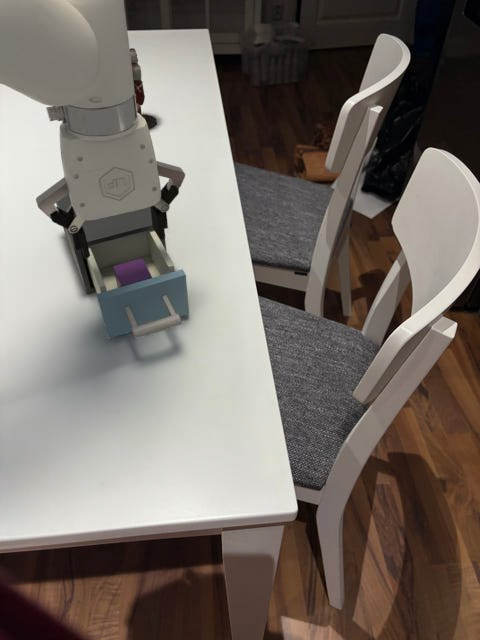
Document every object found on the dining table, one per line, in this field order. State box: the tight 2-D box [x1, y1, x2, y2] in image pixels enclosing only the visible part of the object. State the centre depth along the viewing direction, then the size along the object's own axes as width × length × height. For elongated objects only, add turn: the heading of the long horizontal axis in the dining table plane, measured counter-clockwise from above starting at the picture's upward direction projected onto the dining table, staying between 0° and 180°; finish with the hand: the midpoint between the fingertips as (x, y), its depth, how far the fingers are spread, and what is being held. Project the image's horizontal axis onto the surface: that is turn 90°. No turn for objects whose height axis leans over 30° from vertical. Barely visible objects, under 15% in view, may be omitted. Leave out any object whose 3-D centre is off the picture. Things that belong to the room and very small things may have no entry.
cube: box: [113, 258, 152, 288], centre depth 72 cm, size 4×4×4 cm
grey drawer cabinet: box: [55, 194, 168, 294], centre depth 80 cm, size 15×13×9 cm
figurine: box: [130, 47, 158, 130], centre depth 106 cm, size 7×7×15 cm
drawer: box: [86, 229, 190, 340], centre depth 71 cm, size 19×11×7 cm, turn 24°
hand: (122, 242), depth 67 cm, fingers open, 9 cm apart
